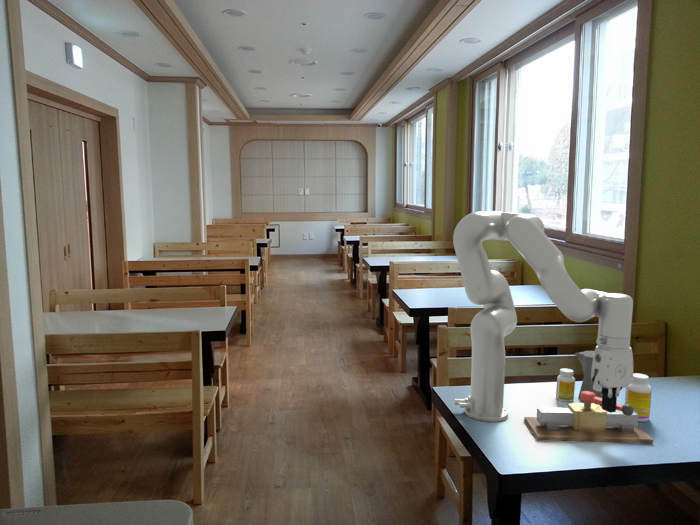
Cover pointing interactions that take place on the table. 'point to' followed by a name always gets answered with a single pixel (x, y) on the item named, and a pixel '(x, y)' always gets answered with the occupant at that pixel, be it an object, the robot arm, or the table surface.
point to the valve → (586, 418)
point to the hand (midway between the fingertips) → (608, 410)
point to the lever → (591, 398)
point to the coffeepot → (587, 372)
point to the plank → (586, 434)
